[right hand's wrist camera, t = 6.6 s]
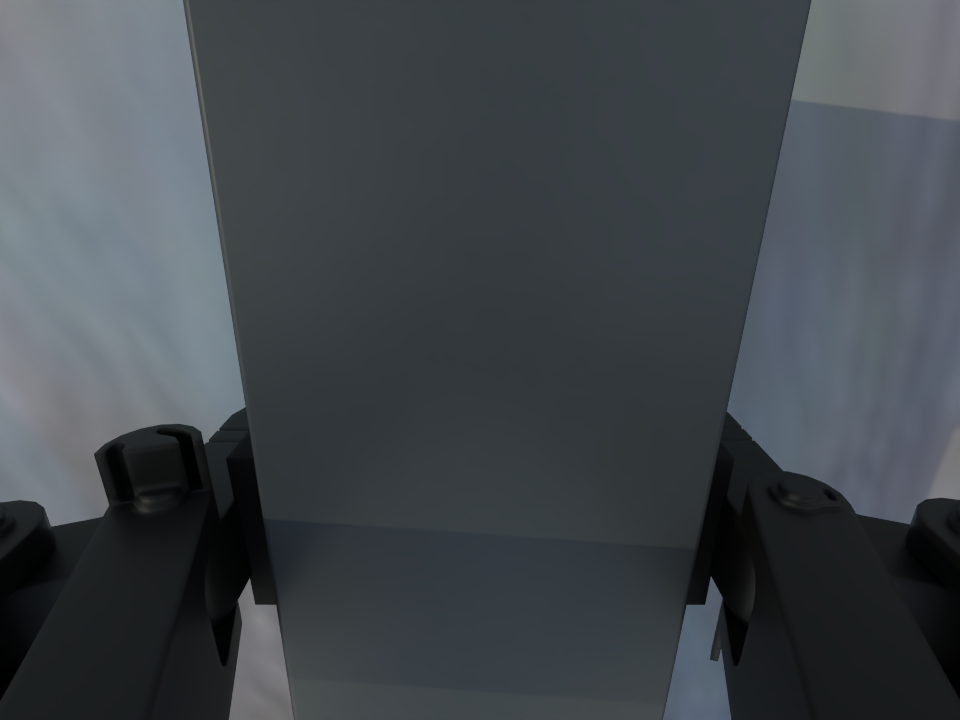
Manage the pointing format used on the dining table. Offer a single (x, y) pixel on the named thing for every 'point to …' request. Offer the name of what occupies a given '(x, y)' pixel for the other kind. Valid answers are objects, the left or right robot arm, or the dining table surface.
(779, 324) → the dining table surface
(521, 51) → the beam
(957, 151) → the dining table surface
